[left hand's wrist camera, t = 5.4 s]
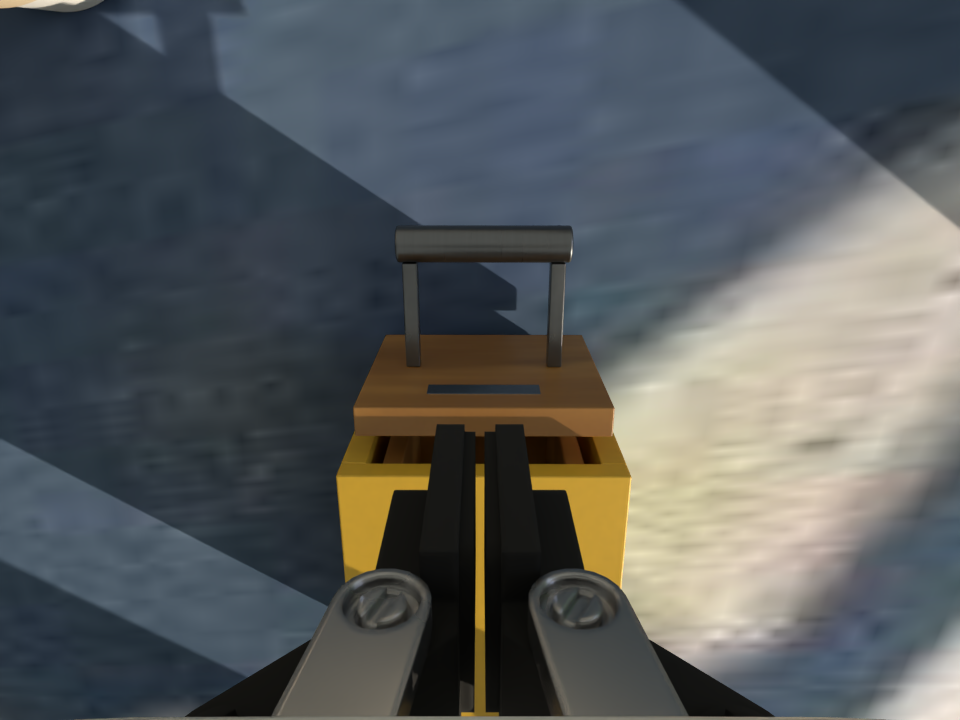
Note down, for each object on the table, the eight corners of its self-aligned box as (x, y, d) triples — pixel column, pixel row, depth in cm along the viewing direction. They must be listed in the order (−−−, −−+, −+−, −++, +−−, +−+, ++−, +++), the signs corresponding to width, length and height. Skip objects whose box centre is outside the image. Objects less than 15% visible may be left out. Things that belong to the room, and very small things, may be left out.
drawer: (379, 211, 30) (340, 246, 22) (589, 211, 30) (627, 246, 22) (400, 606, 38) (377, 738, 30) (566, 607, 38) (588, 739, 30)
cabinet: (378, 370, 34) (335, 475, 24) (588, 371, 34) (631, 476, 24) (394, 642, 40) (365, 814, 30) (571, 642, 40) (600, 815, 30)
